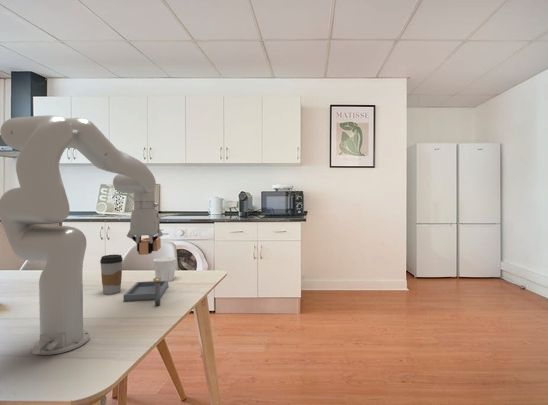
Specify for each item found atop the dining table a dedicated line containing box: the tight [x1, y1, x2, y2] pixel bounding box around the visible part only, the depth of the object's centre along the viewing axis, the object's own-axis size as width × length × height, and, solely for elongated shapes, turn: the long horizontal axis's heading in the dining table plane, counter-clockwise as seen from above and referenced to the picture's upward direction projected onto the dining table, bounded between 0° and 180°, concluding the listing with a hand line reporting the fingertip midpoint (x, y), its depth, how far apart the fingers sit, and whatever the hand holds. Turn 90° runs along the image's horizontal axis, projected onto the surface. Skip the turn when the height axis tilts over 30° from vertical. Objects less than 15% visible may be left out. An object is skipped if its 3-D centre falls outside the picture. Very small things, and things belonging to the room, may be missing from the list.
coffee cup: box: [99, 254, 124, 296], centre depth 125 cm, size 8×8×15 cm
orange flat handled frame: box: [139, 237, 162, 256], centre depth 122 cm, size 7×13×4 cm, turn 9°
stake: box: [153, 277, 161, 307], centre depth 110 cm, size 3×3×10 cm
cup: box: [153, 256, 177, 283], centre depth 144 cm, size 10×10×10 cm
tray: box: [123, 280, 169, 303], centre depth 124 cm, size 18×13×2 cm
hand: (145, 252), depth 118 cm, fingers closed on orange flat handled frame, 3 cm apart
